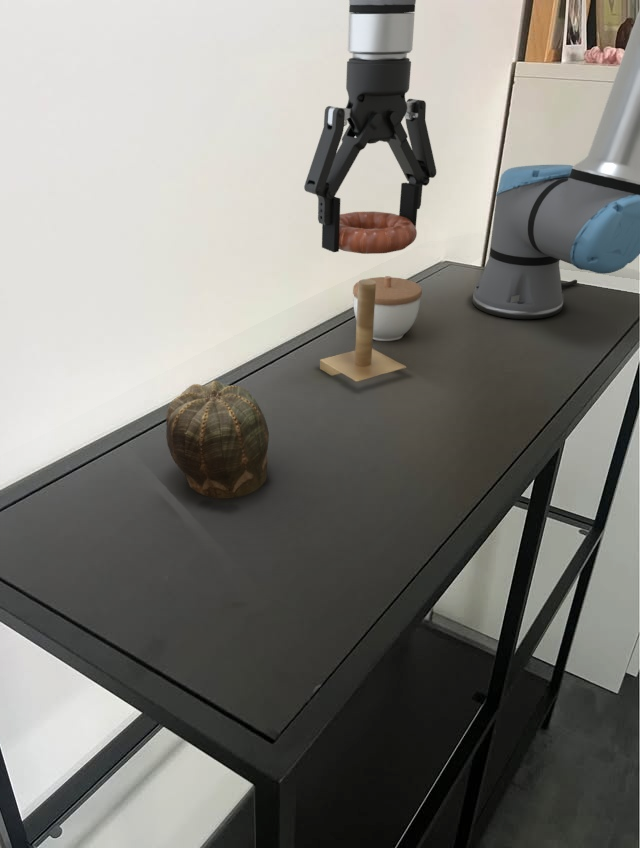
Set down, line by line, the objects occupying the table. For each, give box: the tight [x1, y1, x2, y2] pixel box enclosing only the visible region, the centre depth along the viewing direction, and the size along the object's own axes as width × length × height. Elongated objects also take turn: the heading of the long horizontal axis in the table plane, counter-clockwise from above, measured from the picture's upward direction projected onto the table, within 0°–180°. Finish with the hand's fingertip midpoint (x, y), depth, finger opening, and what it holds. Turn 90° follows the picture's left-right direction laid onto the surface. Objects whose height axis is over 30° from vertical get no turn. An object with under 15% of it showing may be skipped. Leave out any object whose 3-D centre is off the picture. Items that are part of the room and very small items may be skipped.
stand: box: [319, 278, 408, 382], centre depth 108 cm, size 9×9×14 cm
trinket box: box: [352, 275, 423, 342], centre depth 122 cm, size 11×11×9 cm
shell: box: [165, 380, 270, 499], centre depth 83 cm, size 11×11×12 cm
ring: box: [339, 211, 418, 255], centre depth 101 cm, size 12×12×3 cm
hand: (369, 242), depth 102 cm, fingers closed on ring, 12 cm apart
